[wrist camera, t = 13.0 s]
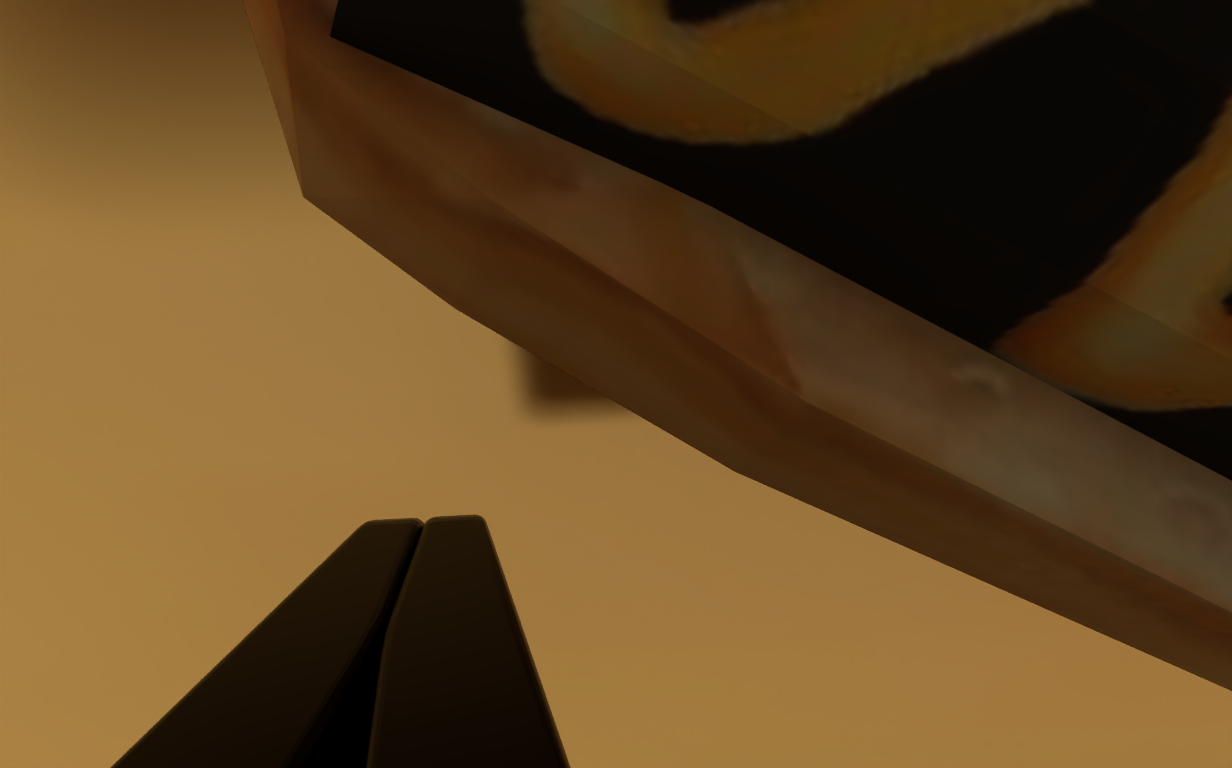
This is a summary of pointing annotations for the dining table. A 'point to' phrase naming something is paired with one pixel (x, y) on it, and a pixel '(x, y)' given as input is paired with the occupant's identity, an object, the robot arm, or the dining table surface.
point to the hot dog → (838, 252)
